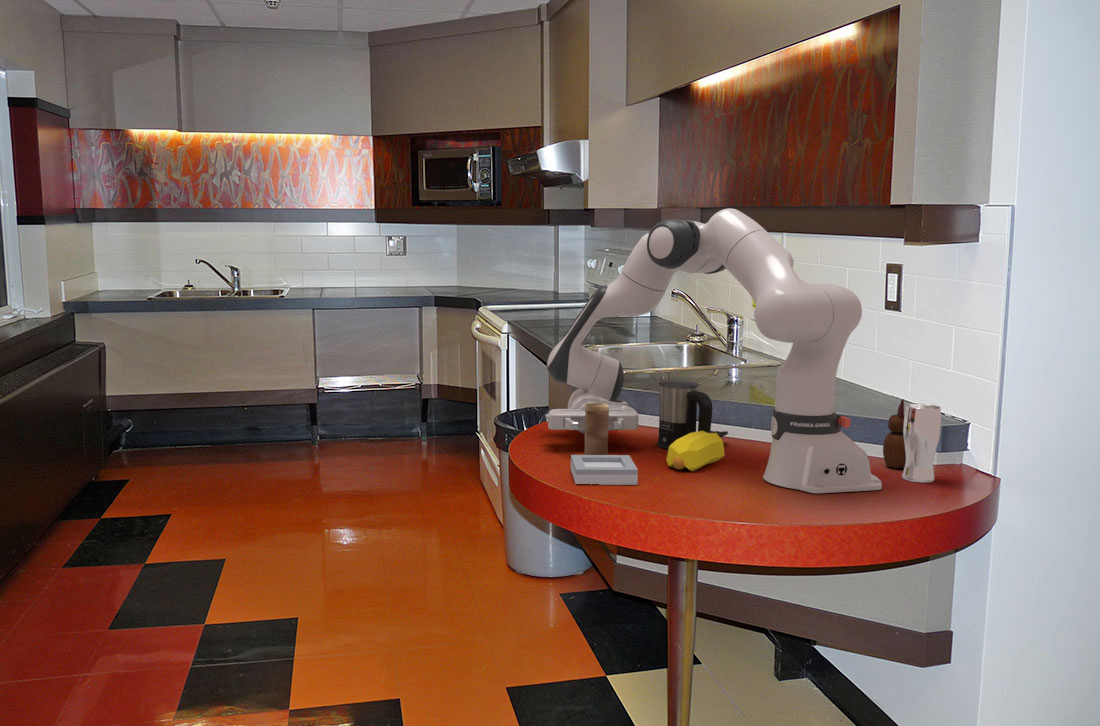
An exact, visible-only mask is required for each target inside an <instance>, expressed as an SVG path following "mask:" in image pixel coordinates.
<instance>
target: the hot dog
mask: <svg viewBox="0 0 1100 726" xmlns="http://www.w3.org/2000/svg"><path fill="white" fill-rule="evenodd" d="M666 454H667V455H666V459H665V460H666V463H667V465H668V467H670V468H671V469H676V470H683V469H685V468H686V469H688V470H689V471H691V472H692V471H693V472H695V471H696V470H698V469H700V468H702V467H704V466H705V465H708V464H712V463H716V462H718V461H721V459H722V458H724V457H725V456H726V455H725V446H724V440H723V439H722V437H721V438H720V437H719V435H718V434H717V433H707V432H704V431H698V430H697V431H696V432H693V433H689V434H687V435H685V436H683V437H681V438H679V439H677V440H676V441H675V442H673V443H672V444H671V445H670V446H669V449H667V453H666Z"/></svg>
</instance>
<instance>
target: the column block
mask: <svg viewBox="0 0 1100 726" xmlns="http://www.w3.org/2000/svg"><path fill="white" fill-rule="evenodd" d="M608 420H609V406H608V405H607V403H585V434H584V449H583V450H584V452H583V453H584V454H583V455H609V454H608V453H609V452H608V449H609V431H608Z"/></svg>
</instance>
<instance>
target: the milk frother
mask: <svg viewBox="0 0 1100 726" xmlns="http://www.w3.org/2000/svg"><path fill="white" fill-rule="evenodd" d="M658 385H659V402H658V403H659V407H658V408H659V409H658V411H659V413H658V417H659V419H658V422H659V423H658V437H657V439H658V440H657V441H658V442H657V443H656V445H657V447H659V448H663V449H665V450H666V449H667V450H668V449H669V446H670V445H671V444H672V443H673V442H675V441H676V440H677V439H679V438H681V437H683V436H685V435H687V434H689V433H693V432H698V431H704V432H707V433H717V434H718V435H719V437H720V438H721V439H722V437H725V436H727V435H729V431H727V430H723V431H719V430H714V431H713V430H711V429H712V418H713V417H712V416H713V402H712V399H711V397H710V396H709V395H708V394H706V393H705V392H702V391H699V390H698V389H699V388H698V387H699V386H700V384H699V383H698V382H694V381H689V380H688V381H687V380H665V381H660V382H658ZM697 408H698V409H697ZM698 410H699V411H698ZM697 411H698V413H697ZM697 415H698V416H697ZM697 417H698V419H697ZM697 420H698V421H697ZM697 422H698V423H697Z"/></svg>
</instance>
